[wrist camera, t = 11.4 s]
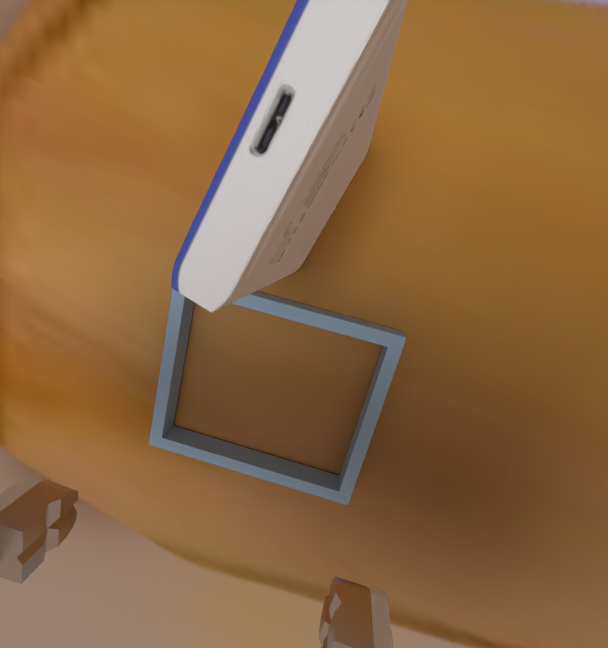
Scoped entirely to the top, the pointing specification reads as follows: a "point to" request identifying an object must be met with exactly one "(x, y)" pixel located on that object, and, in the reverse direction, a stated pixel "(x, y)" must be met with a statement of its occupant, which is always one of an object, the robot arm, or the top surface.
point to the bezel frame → (253, 460)
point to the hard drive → (291, 150)
